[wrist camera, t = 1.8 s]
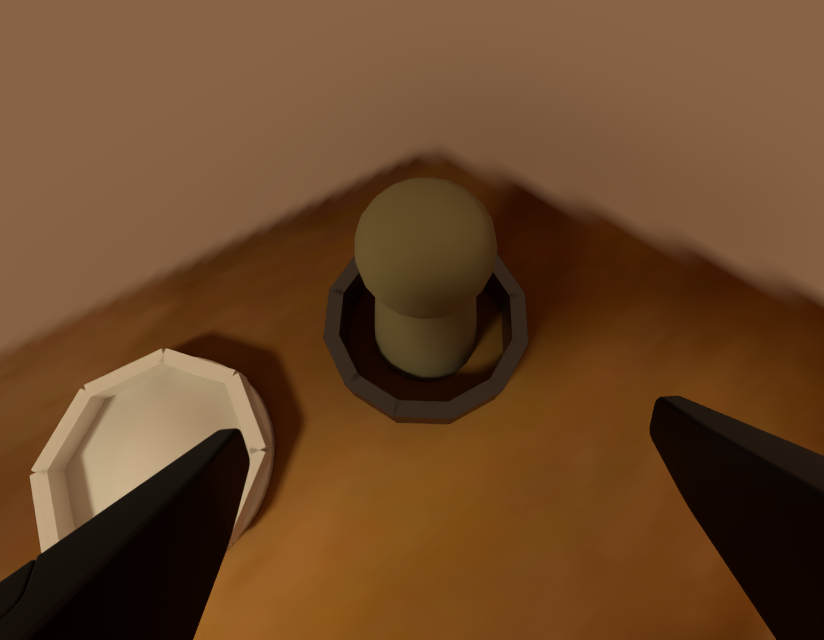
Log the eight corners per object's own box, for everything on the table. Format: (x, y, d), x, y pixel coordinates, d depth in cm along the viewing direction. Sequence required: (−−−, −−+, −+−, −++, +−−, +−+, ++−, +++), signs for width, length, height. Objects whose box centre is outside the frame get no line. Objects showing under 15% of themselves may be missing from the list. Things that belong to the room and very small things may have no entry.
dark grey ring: (552, 366, 22) (568, 354, 20) (384, 459, 21) (379, 458, 18) (457, 227, 26) (461, 202, 23) (308, 298, 24) (296, 280, 22)
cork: (418, 267, 25) (413, 122, 14) (497, 324, 23) (555, 208, 13) (353, 337, 23) (295, 232, 13) (433, 404, 22) (439, 344, 11)
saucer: (306, 510, 20) (295, 514, 18) (85, 634, 18) (51, 650, 17) (236, 327, 24) (221, 317, 22) (47, 417, 22) (16, 413, 20)
